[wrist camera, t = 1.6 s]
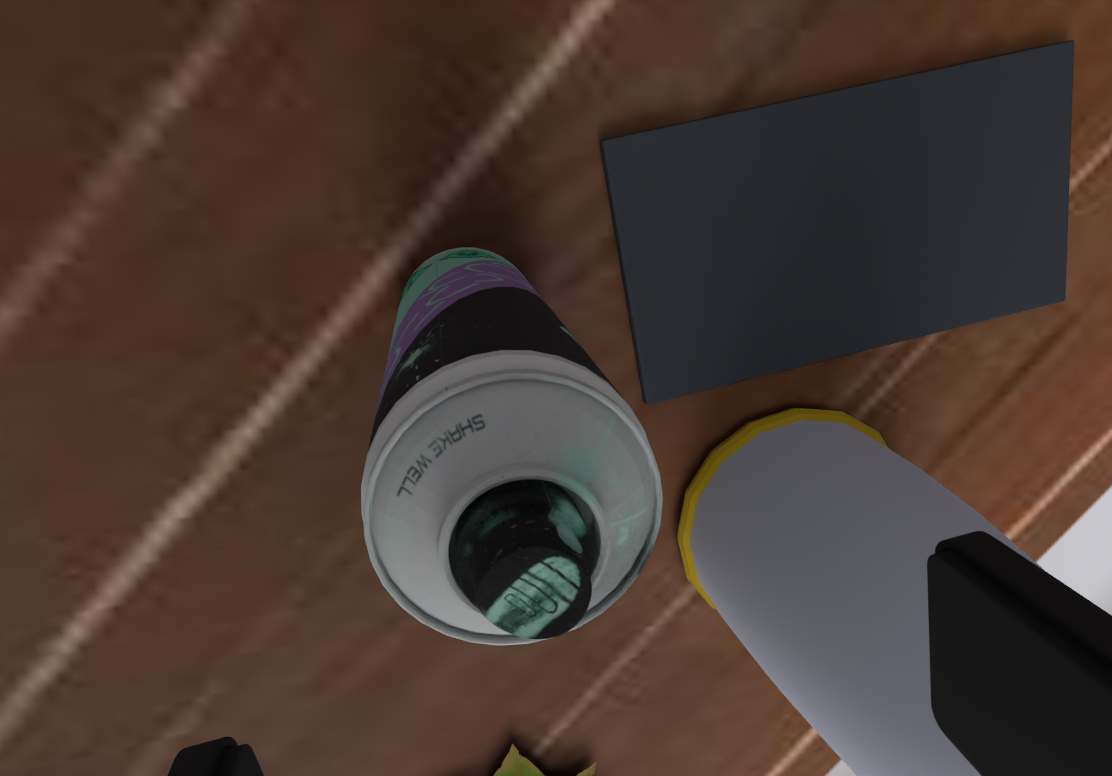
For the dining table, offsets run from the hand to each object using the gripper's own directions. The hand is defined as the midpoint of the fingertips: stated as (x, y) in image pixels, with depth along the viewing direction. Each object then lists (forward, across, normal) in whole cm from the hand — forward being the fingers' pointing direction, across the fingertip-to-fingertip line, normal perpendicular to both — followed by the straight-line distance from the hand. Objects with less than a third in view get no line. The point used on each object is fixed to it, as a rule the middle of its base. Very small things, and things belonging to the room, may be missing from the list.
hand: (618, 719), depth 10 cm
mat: (+21, -16, -1) cm, 27 cm away
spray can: (+22, +1, -1) cm, 22 cm away
